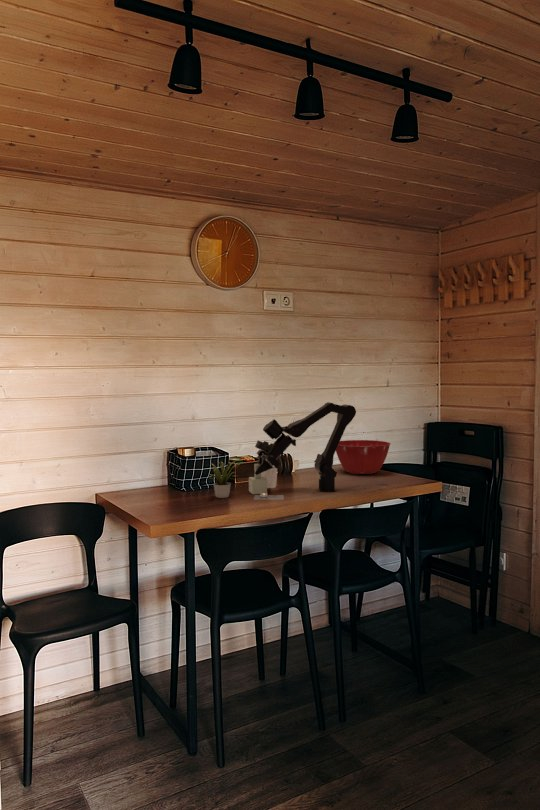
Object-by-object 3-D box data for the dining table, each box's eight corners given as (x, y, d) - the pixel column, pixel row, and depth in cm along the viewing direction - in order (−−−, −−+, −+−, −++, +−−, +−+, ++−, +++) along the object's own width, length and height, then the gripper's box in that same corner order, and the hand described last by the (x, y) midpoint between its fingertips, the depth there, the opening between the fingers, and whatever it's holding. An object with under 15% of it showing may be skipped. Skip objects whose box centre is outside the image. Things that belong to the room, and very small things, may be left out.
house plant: (246, 495, 268) (246, 457, 267) (238, 502, 254) (237, 462, 253) (213, 494, 271) (213, 456, 270) (204, 501, 257) (203, 461, 256)
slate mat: (283, 497, 264) (283, 495, 264) (283, 502, 255) (283, 499, 255) (254, 497, 264) (254, 495, 264) (253, 502, 255) (253, 499, 255)
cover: (263, 492, 274) (263, 462, 273) (267, 495, 268) (266, 464, 267) (248, 493, 272) (248, 463, 272) (252, 496, 266) (252, 465, 265)
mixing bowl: (328, 468, 334) (328, 439, 333) (381, 467, 337) (381, 438, 336) (340, 478, 306) (340, 446, 305) (397, 477, 309) (397, 445, 308)
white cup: (275, 489, 281) (275, 466, 281) (258, 488, 283) (257, 466, 282) (278, 485, 289) (278, 463, 288) (261, 485, 291) (261, 463, 290)
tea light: (267, 496, 261) (267, 492, 260) (267, 498, 258) (267, 494, 257) (260, 496, 261) (260, 492, 261) (260, 498, 258) (260, 494, 258)
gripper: (261, 431, 279) (236, 457, 276) (272, 436, 261) (246, 464, 258) (278, 448, 281) (254, 474, 279) (290, 454, 263) (265, 482, 261)
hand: (254, 473), depth 269 cm, fingers open, 3 cm apart
